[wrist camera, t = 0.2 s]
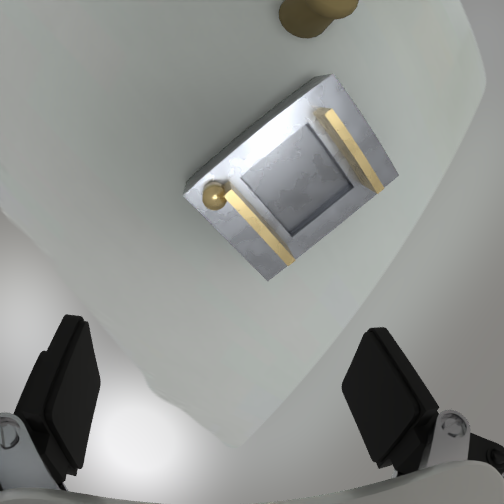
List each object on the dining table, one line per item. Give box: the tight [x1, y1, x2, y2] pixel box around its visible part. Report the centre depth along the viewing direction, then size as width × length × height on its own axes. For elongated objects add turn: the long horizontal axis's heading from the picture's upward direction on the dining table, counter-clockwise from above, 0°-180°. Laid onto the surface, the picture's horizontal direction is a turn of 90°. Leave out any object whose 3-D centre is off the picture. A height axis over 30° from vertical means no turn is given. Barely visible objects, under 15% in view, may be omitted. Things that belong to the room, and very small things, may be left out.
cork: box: [279, 0, 359, 38], centre depth 26 cm, size 6×6×11 cm
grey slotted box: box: [183, 74, 399, 281], centre depth 35 cm, size 20×14×10 cm
